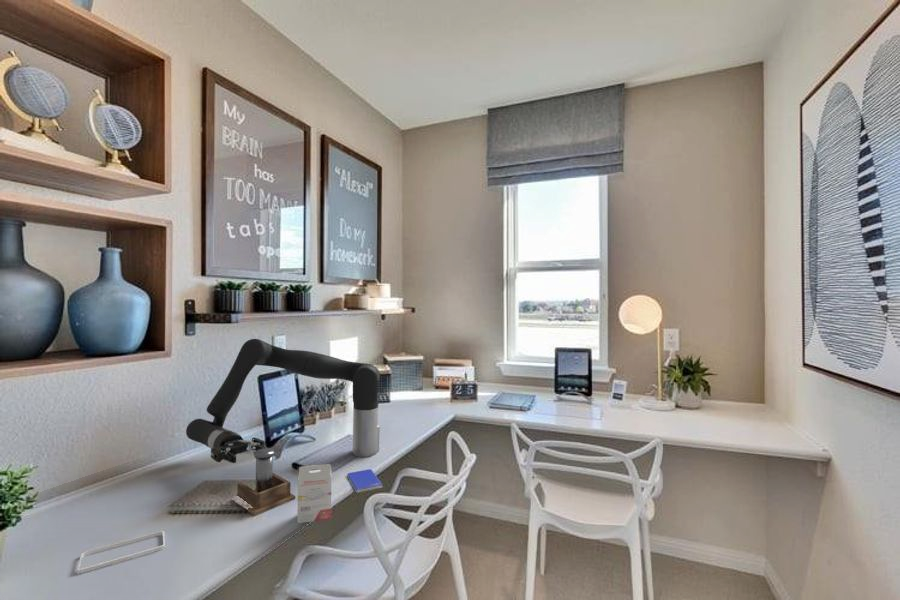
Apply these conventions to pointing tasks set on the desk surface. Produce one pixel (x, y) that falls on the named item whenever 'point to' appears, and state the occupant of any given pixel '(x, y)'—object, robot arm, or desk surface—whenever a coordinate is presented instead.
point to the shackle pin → (264, 469)
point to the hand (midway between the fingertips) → (249, 455)
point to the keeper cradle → (266, 495)
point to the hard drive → (364, 480)
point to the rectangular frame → (118, 546)
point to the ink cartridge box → (314, 493)
